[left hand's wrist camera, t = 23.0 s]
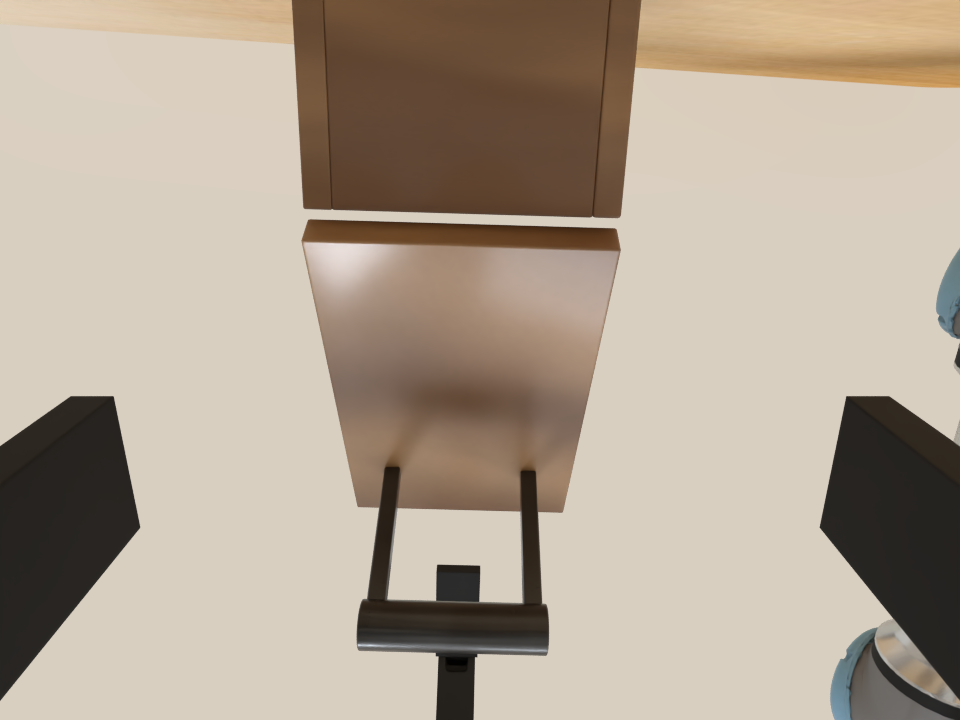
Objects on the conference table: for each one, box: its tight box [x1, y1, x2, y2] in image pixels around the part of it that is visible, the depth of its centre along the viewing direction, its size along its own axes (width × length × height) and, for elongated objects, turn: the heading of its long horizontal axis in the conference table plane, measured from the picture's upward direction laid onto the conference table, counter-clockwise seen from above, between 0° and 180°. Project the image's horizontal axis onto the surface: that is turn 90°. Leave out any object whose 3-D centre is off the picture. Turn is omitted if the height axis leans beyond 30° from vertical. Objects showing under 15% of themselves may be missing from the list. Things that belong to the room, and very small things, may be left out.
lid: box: [302, 219, 621, 656], centre depth 25 cm, size 16×10×9 cm
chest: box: [292, 0, 641, 218], centre depth 27 cm, size 15×10×9 cm, turn 0°
